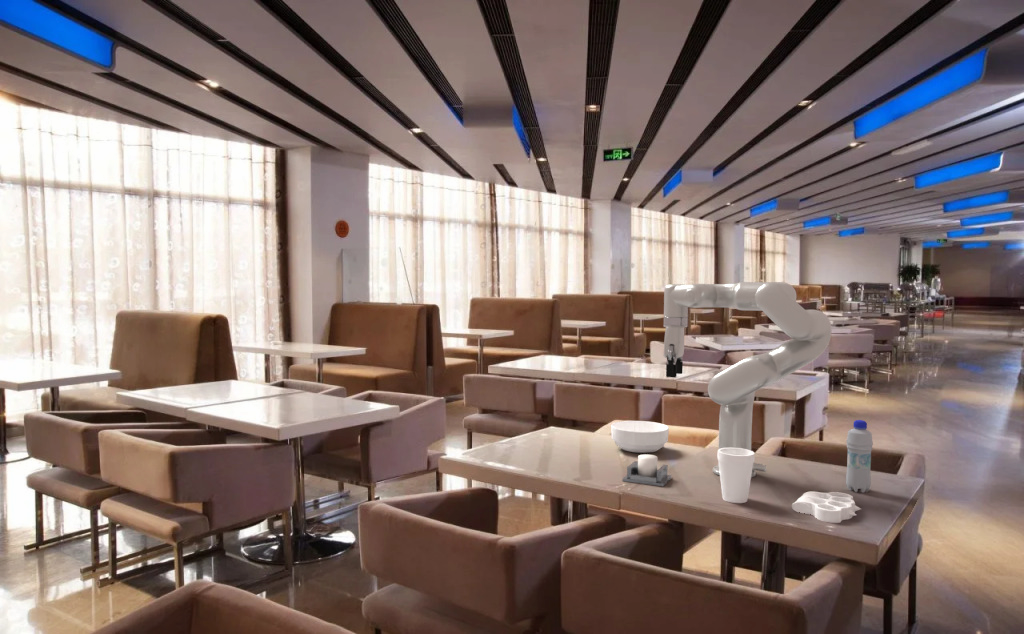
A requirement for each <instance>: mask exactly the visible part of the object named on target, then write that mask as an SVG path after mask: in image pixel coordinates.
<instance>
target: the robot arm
mask: <svg viewBox="0 0 1024 634" xmlns="http://www.w3.org/2000/svg"><path fill="white" fill-rule="evenodd" d="M663 295H664V296H663V303H664V304H663V328H665V332H664V339H663V340H664V344H663V358H665V359H666V367H665V375H666V376H665V377H667V378H677V375H682V374H683V371H684V370H683V368H684V367H683V365H684V364H683V363H684V362H683V356H684V353H685V328H688V321H689V319H688V317H689V313H688V311H689V308H694V309H697V308H698V309H699V308H700V309H701V308H731V309H736V310H738V311H753V312H754V311H759V312H760V311H762V313H764V314H765V315H766V317H767V318H769V319H770V320H771V321H772V322H773V323H774V324H775V325H776V326H777V327H778V328H779V329H780V330H781V331H782V332H783V333H784V334H785V335H787V337H789V338H791V339H789V340H787V341H785V342H783V343H781V344H780V345H779V346H776V347H775V348H773V349H771V350H769V351H767V352H765V353H760V354H755V355H750V356H747V357H745V358H744V359H742V360H739V361H737V362H736V363H734V364H732V365H731V366H729V367H727V368H726V369H724V370H722V371H720V372H719V373H717V374H715V375H713V376H712V378H711V379H709V382H708V385H707V394H708V396H709V398H710V399H711V401H713V402H714V403H716V404H718V405H720V408H719V418H718V419H719V420H718V449H721V448H742V449H747V450H750V451H752V434H753V433H752V432H753V431H752V425H753V408H754V403H755V401H754V400H755V396H756V392H757V391H759V390H760V389H763V388H767V387H769V386H772V385H774V384H776V383H778V382H779V381H781V380H782V379H784V378H786V377H788V376H789V375H791V374H794V373H795V372H796V371H798V370H800V369H802V368H804V367H806V366H807V365H809V364H811V363H812V362H814V361H815V360H817V359H818V358H819V357H820V356H821V355H822V354H823V353H824V352H825V351H826V349H827V347H828V346H829V344H830V341H831V338H832V330H833V329H832V322H831V320H830V318H829V317H828V315H827V314H826V313H824V312H823V311H820V310H817V309H805V308H804V307H803V306H801V304H799V303H798V302H797V292H796V289H795V288H794V286H792V285H791V284H789V283H788V282H783V281H755V282H754V281H752V282H751V281H741V282H740V281H739V282H737V283H691V284H689V283H688V284H683V283H682V284H680V283H676V284H675V283H674V284H671V283H670V284H667V285H665V287H664V293H663ZM755 462H756V461H754V463H753V469H752V475H751V478H754V477H756V475H757V471H759V472H763V473H766V471H767V465H765V464H763V463H755ZM712 473H713V474H715V475H718V476H720V472H719V463H718V462H717V464H716V465H715V466H713V467H712Z"/></svg>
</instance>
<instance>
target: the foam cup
mask: <svg viewBox="0 0 1024 634" xmlns="http://www.w3.org/2000/svg"><path fill="white" fill-rule="evenodd" d="M716 451H717V456H716V457H717V458H716V459H717V464H718V463H719V472H720V475H719V480H720V487H721V497H722V499H723V501H725V502H728V503H733V504H743V503H746V502H748V498H749V492H750V486H751V481H752V480H751V479H752V477H751V475H752V469H753V463H754V462H755V456H756V455H755V454H756V453H755V452H754V451H753V450H751V451H750V450H747V449H742V448H721V449H719V448H718V449H717V450H716Z"/></svg>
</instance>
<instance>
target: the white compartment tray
mask: <svg viewBox="0 0 1024 634" xmlns="http://www.w3.org/2000/svg"><path fill="white" fill-rule="evenodd" d="M791 508H792V510H793V511H795V512H797V513H799V512H800V514H804V513H805V514H804V515H810V514H811V516H813V517H815V519H816V518H817V519H816V520H818V521H821V522H825V523H831V524H839V523H840V524H841V523H842V521H844V520H851V519H852V518H853V517H854V516H857V514H856V511H857V512H858V511H860V510H862V507H861V508H860V507H859V506H857V505H856V503H855V500H854V496H853V495H851V494H849V493H845V492H840V491H830V492H821V491H820V492H819V491H807V492H804V493H802V495H801V496H800V497H798V498H797V500H796V501H795V502H792V503H791Z"/></svg>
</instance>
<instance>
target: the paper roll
mask: <svg viewBox="0 0 1024 634" xmlns="http://www.w3.org/2000/svg"><path fill="white" fill-rule="evenodd" d="M637 461H638V475H640V476H648V477H656V478H657V470H658V456H656V455H655V454H648V453H647V454H646V453H643V454H640V455H638V456H637Z"/></svg>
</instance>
